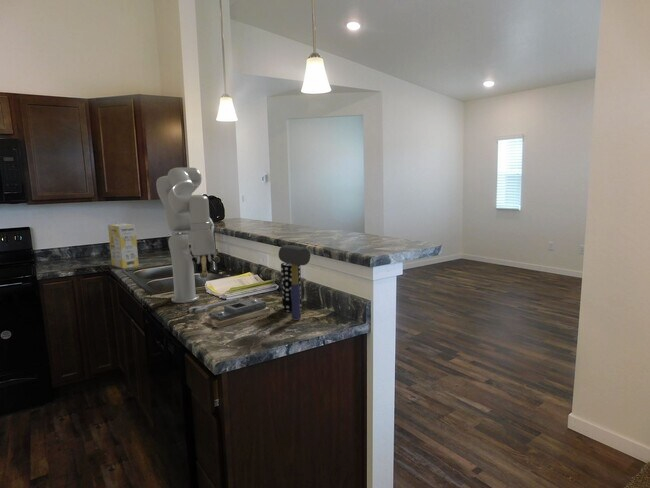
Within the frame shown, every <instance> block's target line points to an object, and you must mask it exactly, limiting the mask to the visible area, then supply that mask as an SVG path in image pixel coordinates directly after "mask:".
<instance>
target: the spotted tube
mask: <svg viewBox="0 0 650 488" xmlns="http://www.w3.org/2000/svg"><path fill="white" fill-rule="evenodd" d="M301 273H302V272H301V265H298V284H299V287H300V311H302V309H303V307H302V306H303V305H302V276H301V275H302V274H301ZM280 276H281V278H280V279H281V280H280V281H281V283H280V284H281V306H282V309H281V310H282V311H283V312H287V313H288V312H289V313H292V300H291V285H292V264H289V263H285V262H282V263H280Z"/></svg>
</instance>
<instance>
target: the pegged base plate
mask: <svg viewBox="0 0 650 488" xmlns="http://www.w3.org/2000/svg"><path fill="white" fill-rule="evenodd" d="M223 306H224V307H223V308H224V309H221V310H216V311H211V312H209V314H208V316H209V317H211V318H213V319H216V320H218V321H223V320H227V319H230V318H234V317H237V316H241V315H244V314H248V313H252V312H255V311H259V310H262V309H266V307H267V304H266V301H265V300H262V299H259V298H255V297H254V298H250V299H246V300H242V301H241V300H240V301H236V302H233V303H229V304H225V305H223Z"/></svg>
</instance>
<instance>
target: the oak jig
mask: <svg viewBox="0 0 650 488" xmlns="http://www.w3.org/2000/svg"><path fill="white" fill-rule="evenodd" d="M270 313H271V307H268V306H266V309H262V310H259V311H255V312H252V313H248V314H244V315H241V316H237V317H234V318H230V319H227V320H223V321H218V320H216V319H213V318H211V317H209V315H208V316H204V322H205V323H206V324H208V325H211V326H212V327H215V328H218V329H220V328H223V327H227V326H230V325H233V324H237V323H240V322H243V321H248V320H251V319H254V318H257V317H261V316H264V315H268V314H270Z"/></svg>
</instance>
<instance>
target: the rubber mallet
mask: <svg viewBox="0 0 650 488" xmlns="http://www.w3.org/2000/svg"><path fill="white" fill-rule="evenodd" d="M277 255H278V258H279V260H280V261H281V262H282V263H289V264H292V285H291V300H292V312H291V314H290V316H291V318H292V320H293V321H298V320H300V319H301V318H302V312H301V310H300V287H299V284H298V265H300V266H306V265H308V264H309V262H310V260H311V252H310V250H309V249H308V248H306V247H303V246H299V245H288V244H285V245H282V246H281V247H280V248H279V249H278V254H277Z"/></svg>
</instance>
